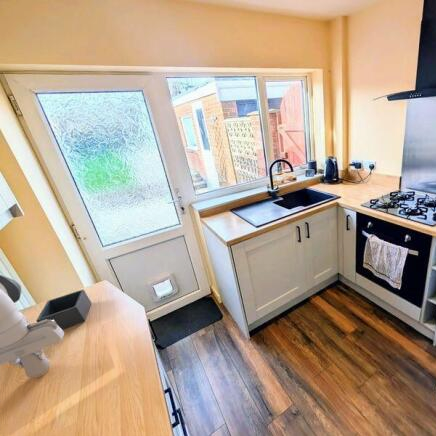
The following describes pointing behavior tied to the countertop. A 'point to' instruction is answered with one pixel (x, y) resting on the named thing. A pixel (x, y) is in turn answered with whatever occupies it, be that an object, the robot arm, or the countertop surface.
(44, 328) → the robot arm
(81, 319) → the bin
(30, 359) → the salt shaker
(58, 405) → the countertop surface
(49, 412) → the countertop surface
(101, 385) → the countertop surface
